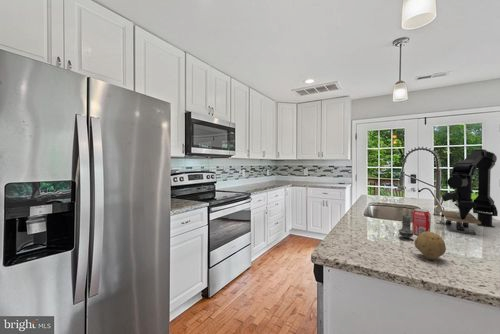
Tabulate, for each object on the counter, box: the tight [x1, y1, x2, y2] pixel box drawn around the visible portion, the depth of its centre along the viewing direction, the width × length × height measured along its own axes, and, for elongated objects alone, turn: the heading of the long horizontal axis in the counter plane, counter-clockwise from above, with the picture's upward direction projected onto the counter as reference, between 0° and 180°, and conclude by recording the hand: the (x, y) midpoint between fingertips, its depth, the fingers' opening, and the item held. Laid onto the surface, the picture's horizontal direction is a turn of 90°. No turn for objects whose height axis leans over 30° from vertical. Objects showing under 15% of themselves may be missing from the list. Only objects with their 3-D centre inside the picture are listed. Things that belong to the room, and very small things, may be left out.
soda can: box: [411, 208, 432, 236], centre depth 110 cm, size 7×7×12 cm
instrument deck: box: [441, 210, 481, 225], centre depth 120 cm, size 22×12×2 cm, turn 146°
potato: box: [413, 231, 447, 261], centre depth 83 cm, size 9×9×10 cm
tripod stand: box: [444, 219, 477, 236], centre depth 120 cm, size 16×10×5 cm, turn 146°
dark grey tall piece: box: [398, 212, 415, 242], centre depth 104 cm, size 6×6×12 cm
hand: (462, 219), depth 113 cm, fingers closed, pressing on instrument deck
